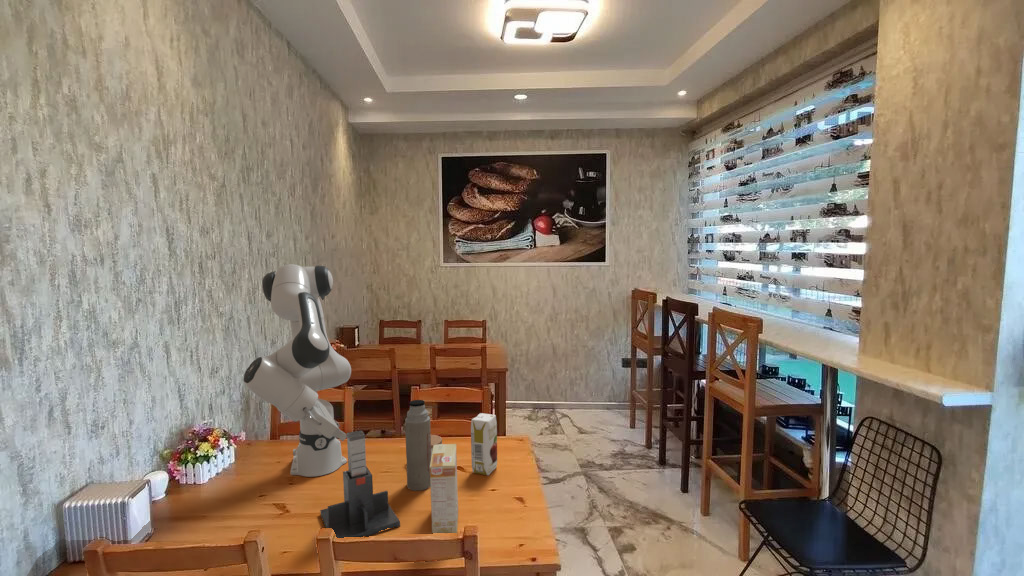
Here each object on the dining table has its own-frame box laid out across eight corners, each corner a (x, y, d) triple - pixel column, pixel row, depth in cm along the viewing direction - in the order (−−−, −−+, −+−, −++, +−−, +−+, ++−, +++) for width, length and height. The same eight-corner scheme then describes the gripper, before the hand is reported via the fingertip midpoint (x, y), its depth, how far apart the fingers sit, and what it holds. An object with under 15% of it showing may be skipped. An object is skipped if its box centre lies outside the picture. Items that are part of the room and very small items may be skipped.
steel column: (349, 512, 140) (346, 433, 138) (364, 508, 142) (361, 429, 140) (353, 519, 137) (349, 438, 135) (368, 515, 139) (365, 434, 137)
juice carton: (469, 473, 168) (468, 419, 166) (480, 463, 176) (479, 411, 174) (489, 477, 165) (488, 422, 163) (499, 466, 173) (498, 414, 171)
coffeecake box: (434, 507, 146) (433, 444, 145) (458, 506, 147) (457, 443, 145) (430, 536, 131) (428, 466, 130) (457, 535, 132) (455, 465, 130)
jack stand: (320, 515, 143) (318, 468, 142) (381, 498, 152) (380, 454, 151) (332, 547, 127) (330, 495, 126) (400, 526, 136) (398, 477, 135)
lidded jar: (444, 464, 175) (444, 439, 174) (414, 469, 172) (413, 443, 171) (440, 452, 185) (439, 428, 184) (411, 456, 182) (410, 432, 181)
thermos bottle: (435, 480, 163) (433, 398, 161) (426, 491, 156) (424, 406, 153) (413, 478, 165) (410, 397, 163) (403, 489, 157) (400, 404, 155)
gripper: (316, 404, 122) (358, 434, 127) (304, 385, 139) (341, 412, 145) (297, 425, 120) (340, 455, 126) (288, 403, 137) (326, 430, 143)
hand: (341, 432), depth 135 cm, fingers open, 8 cm apart
